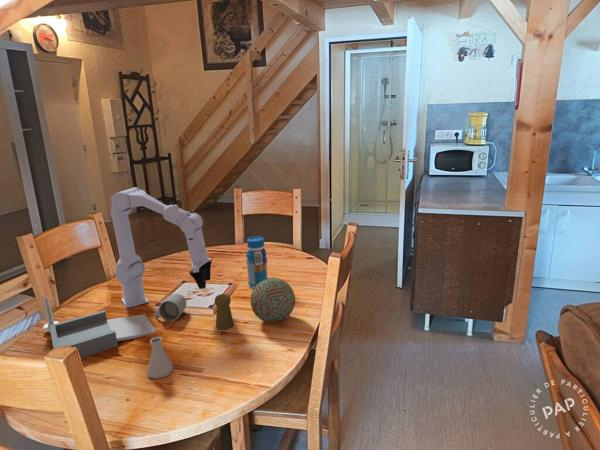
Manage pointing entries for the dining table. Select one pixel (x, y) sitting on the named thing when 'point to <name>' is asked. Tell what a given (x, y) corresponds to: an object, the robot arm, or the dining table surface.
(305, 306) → the dining table surface
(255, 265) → the beverage bottle
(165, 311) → the ceramic mug
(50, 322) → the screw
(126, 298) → the robot arm
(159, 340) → the flask
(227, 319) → the olive pawn
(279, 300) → the decorative sphere
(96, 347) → the dock
